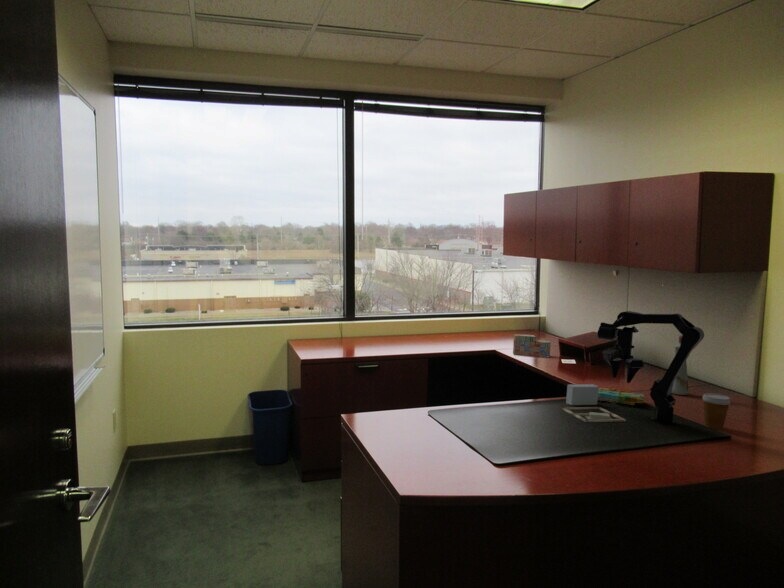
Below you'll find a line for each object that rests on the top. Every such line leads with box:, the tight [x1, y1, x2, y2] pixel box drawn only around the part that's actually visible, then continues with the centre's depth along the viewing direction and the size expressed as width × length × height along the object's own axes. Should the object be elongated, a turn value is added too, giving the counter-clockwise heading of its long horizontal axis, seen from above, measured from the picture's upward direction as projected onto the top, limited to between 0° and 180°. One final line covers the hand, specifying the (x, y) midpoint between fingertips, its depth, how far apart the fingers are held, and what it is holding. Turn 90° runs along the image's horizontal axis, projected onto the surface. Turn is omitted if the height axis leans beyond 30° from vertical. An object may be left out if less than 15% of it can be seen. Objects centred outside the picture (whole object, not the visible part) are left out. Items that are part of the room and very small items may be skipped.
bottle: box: [671, 334, 689, 396], centre depth 274 cm, size 9×9×28 cm
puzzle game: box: [598, 386, 645, 406], centre depth 254 cm, size 12×5×20 cm
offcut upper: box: [588, 411, 611, 420], centre depth 222 cm, size 3×7×2 cm, turn 78°
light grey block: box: [565, 383, 600, 406], centre depth 242 cm, size 4×12×9 cm, turn 104°
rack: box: [561, 406, 627, 423], centre depth 226 cm, size 17×17×2 cm
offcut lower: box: [584, 416, 613, 420], centre depth 222 cm, size 4×10×2 cm, turn 91°
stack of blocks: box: [512, 333, 552, 357], centre depth 355 cm, size 21×6×12 cm, turn 84°
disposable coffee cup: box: [701, 392, 731, 431], centre depth 222 cm, size 10×10×12 cm
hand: (621, 380), depth 236 cm, fingers open, 9 cm apart
